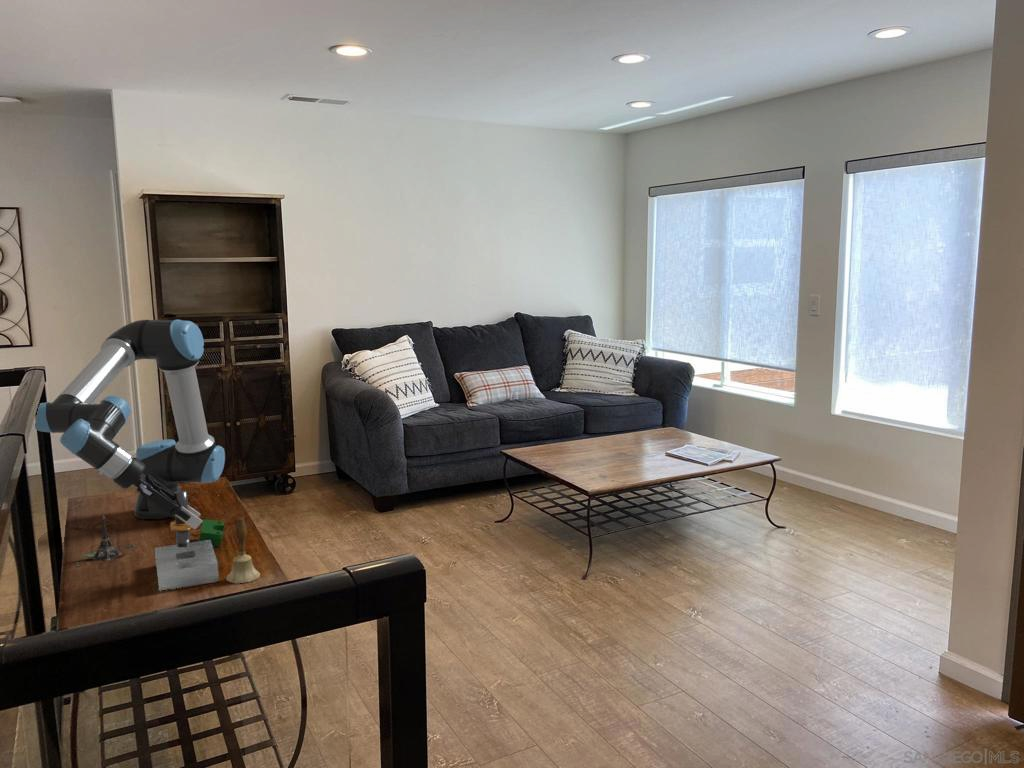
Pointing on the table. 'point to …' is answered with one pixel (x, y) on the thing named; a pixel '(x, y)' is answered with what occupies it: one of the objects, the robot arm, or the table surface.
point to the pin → (178, 524)
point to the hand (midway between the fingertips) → (197, 521)
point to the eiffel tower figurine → (104, 547)
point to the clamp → (212, 532)
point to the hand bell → (242, 560)
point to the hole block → (186, 565)
